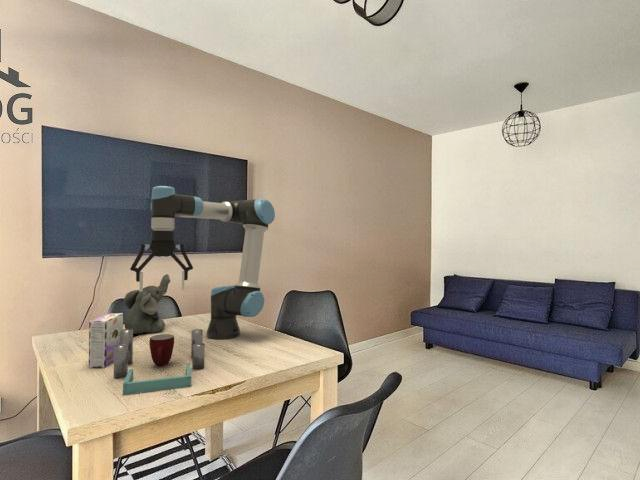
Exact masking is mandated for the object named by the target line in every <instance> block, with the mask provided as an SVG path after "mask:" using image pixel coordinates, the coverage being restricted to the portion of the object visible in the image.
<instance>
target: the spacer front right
mask: <svg viewBox="0 0 640 480" xmlns="http://www.w3.org/2000/svg"><path fill="white" fill-rule="evenodd" d="M128 367H129V365H128V344H118V345H115V346H114V362H113V379H115V380H116V379H117V380H119V379H125V378H126V376H127V373H128V371H129V369H128Z"/></svg>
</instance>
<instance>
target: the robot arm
mask: <svg viewBox="0 0 640 480" xmlns="http://www.w3.org/2000/svg"><path fill="white" fill-rule="evenodd" d="M150 211H151V219H150V220H151V228H150V229H152V230H151V236H150V237H151V241H150V244H146V243H141V244H140V249H139V252H138V253H137V256H136V257H135V259H134V261H133V263H132V264H131V266H130V268H129V269H130V270H129V271H131V272H132V271H133V272H135V280H136V281H135V282H139V290H140V291H139V292H142V291H143V288H144V287H143V285H144V284H143V282H144V272H143V271H142V270H143V269H144V268H145V267H146V265H148V264H149V263H150V261H151V260H152V259H153V258H155V256H156V257H159V258H160V257H166V258H167V257H169V256H170V257H171V258H172V259H173V260H174V261H175V262H176V263H177V264H178V265H179V267H181V269H182V270H183V271H181V290H182V291H184V290H185V281H188V279H189V277H188V276H189V275H188V274H189V271H191V270H193V269H194V266H193V265H192V262H191V260H190V259H189V256H188V254H187V253H186V250H185V248H184V247H185V246H184V244H183V243H180V244H175V231H174V230H175V227H176V226H175V222H176V221H175V219H176V218H186V219H188V218H190V219H191V218H192V219H193V218H194V219H204V220H205V219H206V220H207V219H208V220H209V219H210V220H220V221H221V222H224V223H232V224H238V225H242V227H243V228H244V229H245V230H244V231H245V232H244V238H243V239H244V240H243V247H242V255H241V263H240V270H239V275H238V282H236V283H235V284H232V285H226V286H218V287H217V286H216V287H213V288H211V291H210V293H211V294H210V321H209V324H208V327H207V330H206V338H208V339H211V340H228V339H234V338H236V337H239V336H240V335H241V329H240V326H239V323H238V319H237V316H240V317H244V318H247V317H248V318H254V317H256V316H258V315H259V314H260V313H261V312H262V310H263V308H264V305H265V296H264V293H262V292H261V286H260V285H259V278H260V277H259V276H260V268H261V262H262V261H261V260H262V252H263V244H264V237H265V232H267V231H268V230H269V225H270V224H272V223H273V222H274V220H275V217H276V216H275V215H276V213H275V211H276V210H275V208H274V205H273V204H272V202H271V201H269V200H268V199H266V198H256V199H255V198H254V199H246V200H245V199H244V200H242V199H241V200H236V201H235V200H233V201H222V202H214V201H213V202H212V201H203V199H202V198H201V197H198V196H194V195H185V194H178V193H176V190H175V187H173V186H170V185H168V186H167V185H157V186H154V187H152V190H151V203H150ZM148 249H150V251H152V253H150V254H149V256H147V258H146V259H145V260H144V261H143V262H142V263H141V264H140V265H139V266H138V264H139V262H140V261H141V259H142V258H143V255H144V254H145V251H148ZM176 249H177V250H178V251H180V252H181V255H182V257H183V258H184V261H185V263H186V265H187V266H186V265H185V264H184V263H183V261H181V260H180V258H179V257H178V256H177V255H176V254H175V253H174V251H175V250H176ZM137 266H138V267H137Z"/></svg>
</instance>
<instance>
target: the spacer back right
mask: <svg viewBox="0 0 640 480" xmlns="http://www.w3.org/2000/svg"><path fill="white" fill-rule="evenodd" d="M120 344H128V366H130V365H132V364H133V363H134V362H133V361H134V360H133V358H134V357H133V354H134V353H133V352H134V351H133V350H134V348H133V347H134V346H133V345H134V335H133V329H124V328H123V330H121V331H120Z"/></svg>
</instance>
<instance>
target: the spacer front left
mask: <svg viewBox="0 0 640 480" xmlns="http://www.w3.org/2000/svg"><path fill="white" fill-rule="evenodd" d="M205 346H206V345H205V343H203V342H202V343H197V344H193V345H192V359H191V360H192V361H191V363H192V365H191V366H192V367H191V368H192V369H191V370H195V371H198V370H199V371H200V370H202V369H204V368H205Z"/></svg>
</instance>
